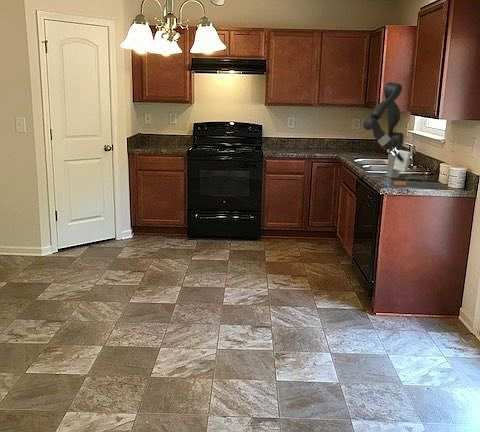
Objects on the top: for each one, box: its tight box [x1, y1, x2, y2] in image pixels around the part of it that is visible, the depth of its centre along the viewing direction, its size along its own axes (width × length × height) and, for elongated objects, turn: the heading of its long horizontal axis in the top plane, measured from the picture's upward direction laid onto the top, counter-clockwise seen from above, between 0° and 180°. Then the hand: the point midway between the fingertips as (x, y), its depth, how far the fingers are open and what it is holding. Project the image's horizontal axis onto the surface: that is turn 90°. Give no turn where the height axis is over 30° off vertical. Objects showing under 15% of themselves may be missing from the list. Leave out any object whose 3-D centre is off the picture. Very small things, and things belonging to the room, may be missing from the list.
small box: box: [393, 149, 412, 173], centre depth 351 cm, size 8×6×13 cm
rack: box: [387, 177, 443, 190], centre depth 354 cm, size 12×34×4 cm, turn 83°
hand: (401, 159), depth 351 cm, fingers closed on small box, 8 cm apart
